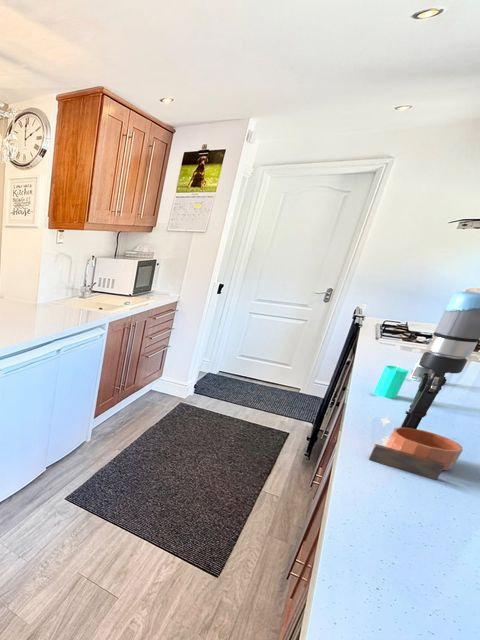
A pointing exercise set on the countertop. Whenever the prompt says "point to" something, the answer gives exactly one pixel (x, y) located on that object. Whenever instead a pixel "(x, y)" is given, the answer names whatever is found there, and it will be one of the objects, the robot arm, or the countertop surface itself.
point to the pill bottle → (418, 372)
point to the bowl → (425, 445)
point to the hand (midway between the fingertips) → (404, 435)
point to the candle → (390, 381)
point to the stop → (406, 461)
